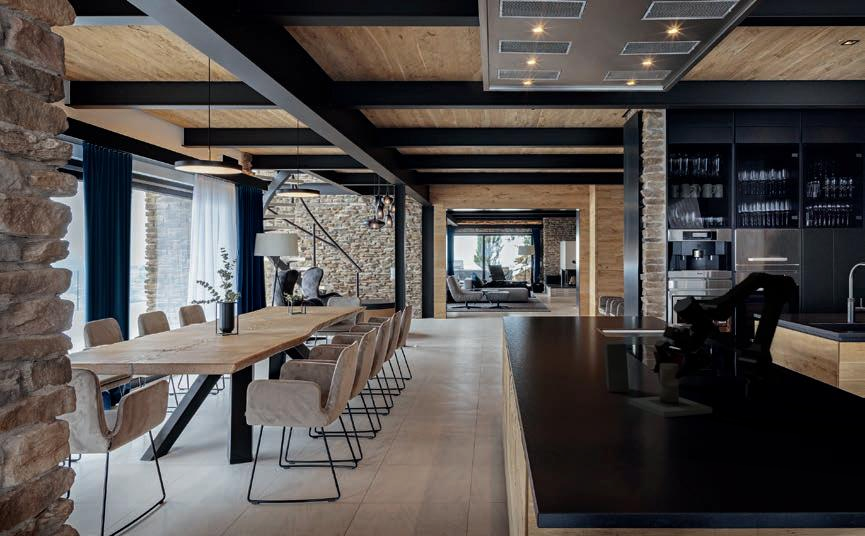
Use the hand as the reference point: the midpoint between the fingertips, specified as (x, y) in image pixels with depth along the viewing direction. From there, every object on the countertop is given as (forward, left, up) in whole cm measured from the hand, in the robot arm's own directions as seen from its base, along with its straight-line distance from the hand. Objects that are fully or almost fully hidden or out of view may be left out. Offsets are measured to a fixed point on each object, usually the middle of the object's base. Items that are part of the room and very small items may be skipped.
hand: (664, 374), depth 169 cm
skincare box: (+14, -22, -10) cm, 28 cm away
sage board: (-1, -1, -10) cm, 10 cm away
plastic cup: (-3, -37, -10) cm, 38 cm away
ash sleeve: (-1, -1, -8) cm, 8 cm away
